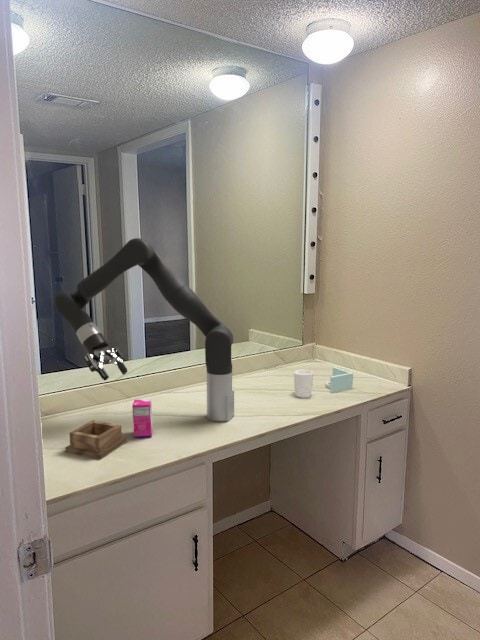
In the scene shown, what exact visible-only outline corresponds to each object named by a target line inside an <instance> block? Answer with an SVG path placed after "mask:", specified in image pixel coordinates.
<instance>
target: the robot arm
mask: <svg viewBox="0 0 480 640" xmlns="http://www.w3.org/2000/svg"><path fill="white" fill-rule="evenodd" d="M136 266H139V267H140V268H141V270H143V271H144V272H145V273H146V274H147V275H148V276H149V277H150V278H151V279H152V281H153V283H155V285H156V287H157V289H158V290H159V292H160V293H161V295H162V297H163V298H164V299H165V301H166V302H167V303H168V304H169V305H170V306H171V307H172V308H173V309H174V310H175V311H176V312H177V314H180V316H182V317H183V318H185V319H187V320H188V321H189V322H190V323H193V325H194V326H196V327H197V328H198V329H199V330H200V332H201V333H202V335H203V336H205V342H204V353H205V355H204V356H205V357H204V358H205V366H206V418H207V420H210V421H213V422H229V421H230V420H231V419H232V418H234V417H235V391H234V390H233V363H232V345H233V343H234V336H233V333H232V331H231V330H230V329H229V328H228V327H227V325H225V324H224V323H222V322H221V320H219V319H218V318H217V317H216V316H215V315H214V314H213V313H212V312H211V311H210V310H209V308H208V307H207V306H206V304H204V303H203V301H202V300H201V298H200V297H198V295H197V294H196V293H195V292H194V290H193V289H192V288H191V287H190V286H189V285H188V284H187V283H186V282H185V281H184V280H183V279H182V278H181V276H179V275H178V274H177V273H176V272H175V271H174V270H173V269H172V268H171V267H170V266H169V265H167V263H166V262H165V261H164V260H163V258H162V257H161V255H160V254H159V253H158V251H157V249H155V247H154V246H153V245H152V243H151V242H150V241H148V240H147V239H144V238H140V237H136V238H135V237H134V238H132V239H130V240H128V241H127V242H126V244H124V245H123V247H121V249H119V251H118V252H117V253H116V254H114V255H113V256H112V257H111V258H110V259H109V260H108V261H107V262H106V263H104V264H103V265H101V266H100V267H98V268H97V269H95V270H94V271H92V272H91V273H90V274H89V275H87V276H86V277H84V278H83V279H82V280H80V281H79V282H78V283H77V285H76V291H74V292H73V293H71V292H69V291H59V292H58V293H56V295H55V296H54V298H53V302H54V303H53V304H54V307H55V308H56V310H57V311H58V314H60V315H61V317H63V319H65V321H67V322H68V323H69V324H70V326H71V328H72V330H73V331H74V333H75V334H76V336H77V338H78V341H79V342H80V343H81V345H82V347H83V348H84V350H85V351H86V352H87V353H86V355H85V356H84V358H83V360H84V361H85V363H86V365H87V367H88V369H89V370H90V373H91V372H92V373H94V372H96V373H98V375H99V377H100V378H101V379H102V380H103V381H107V380H108V379H109V374H108V373H107V371H106V370H105V368H104V367H103V365H105V364H109V363H110V364H112V365H115V366H117V368H118V370H119V371H120V373H121V374H122V375H123V376H124V375H126V374H127V373H128V368H127V366H126V365H125V364H124V362H125V361H126V360H127V359H126V357H125V356H124V354H123V353H122V351H121V350H120V348H119V347H118V346H114V348H110V347H109V342H108V341H107V339H106V338H105V336H104V335H103V333H102V331H101V330H100V329H99V327H98V326H97V325H96V324H95V322H94V321H93V320H92V318H91V316H90V314H88V313H87V312H86V311H84V310H83V309H84V308H85V307H86V306H87V304H89V303H90V301H91V300H92V299H93V298H95V297H96V296H97V295H98V294H100V293H101V292H103V291H104V290H105V289H106V288H108V287H109V286H110V285H111V284H112V283H113V282H114V281H115V280H116V279H117V278H118V277H120V276H121V275H122V274H124V272H126V271H128V270H130V269H132V268H134V267H136Z"/></svg>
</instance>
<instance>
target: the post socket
mask: <svg viewBox="0 0 480 640" xmlns="http://www.w3.org/2000/svg"><path fill="white" fill-rule="evenodd" d="M122 433H123V432H122V425H121V424H116V423H111V422H105V421H99V420H93V419H92V420H91V421H88V422H87V423H85V424H83V425H81V426H79V427H78V428H76V429H74V430H72V431H70V432H69V445H67V446H65V447H64V448H65V449H64V451H65V453H68V454H73V455H78V456H83V457H88V458H93V459H96V460H102V459H104V458H105V457H107V456H108V455H110V454H112V453H113V452H114V451H116V450H117V449H119V448H120V447H121V446H123V445H125V444H126V443H127V437H123V435H122Z"/></svg>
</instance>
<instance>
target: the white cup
mask: <svg viewBox="0 0 480 640" xmlns="http://www.w3.org/2000/svg"><path fill="white" fill-rule="evenodd" d="M313 378H314V371H312V370H309V369H296V370H294V372H293V379H294V380H293V383H294V386H293V387H294V396H295V397H296V398H303V399H306V398H310V397H312V390H313V384H314V383H313V381H314V379H313Z"/></svg>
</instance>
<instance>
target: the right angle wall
mask: <svg viewBox="0 0 480 640" xmlns="http://www.w3.org/2000/svg"><path fill="white" fill-rule="evenodd" d="M329 380H330V381H327V382H325V383H324V386H325V388H326V387H328V389H329V393H330V394H334V392H335V393H339V392H344V391H348V390H347V389H349V390H352V389H353V383H354V382H353V381H354V373H353V372H351V371H347V370H343V369H341V368H338V367H336V366H333V367H332V376H330V379H329ZM343 390H344V391H343Z"/></svg>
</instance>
